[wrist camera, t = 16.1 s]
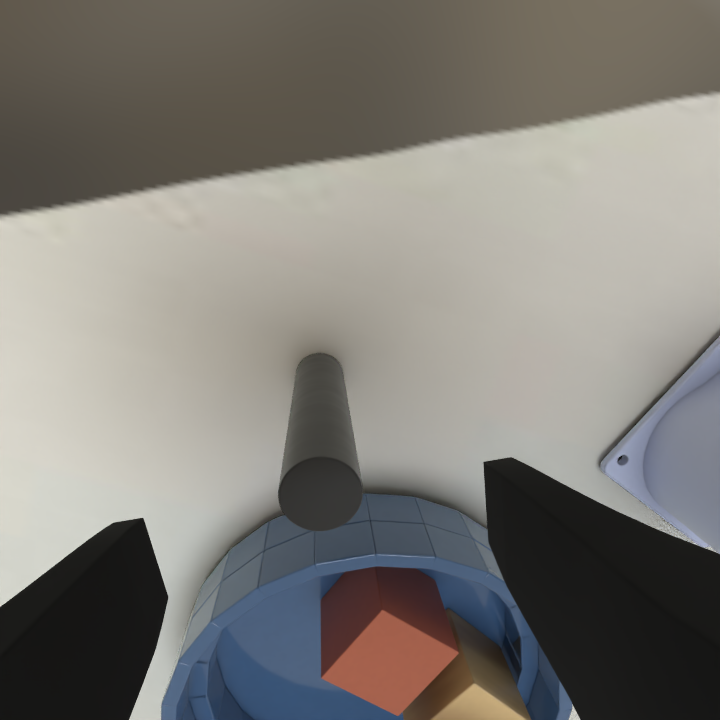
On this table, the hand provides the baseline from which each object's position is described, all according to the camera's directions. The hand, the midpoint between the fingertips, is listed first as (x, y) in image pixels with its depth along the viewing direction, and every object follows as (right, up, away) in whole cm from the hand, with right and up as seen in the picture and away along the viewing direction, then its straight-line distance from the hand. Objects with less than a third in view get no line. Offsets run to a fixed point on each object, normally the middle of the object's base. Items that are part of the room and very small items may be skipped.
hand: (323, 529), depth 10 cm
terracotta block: (+2, -8, +12) cm, 15 cm away
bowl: (+1, -11, +14) cm, 17 cm away
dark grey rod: (-1, +3, +10) cm, 10 cm away
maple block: (+5, -11, +14) cm, 19 cm away
